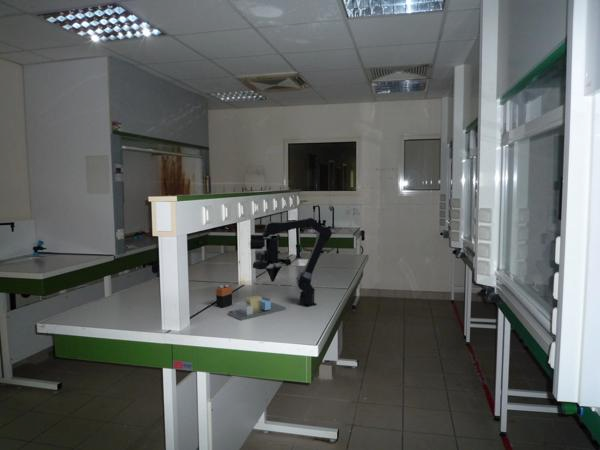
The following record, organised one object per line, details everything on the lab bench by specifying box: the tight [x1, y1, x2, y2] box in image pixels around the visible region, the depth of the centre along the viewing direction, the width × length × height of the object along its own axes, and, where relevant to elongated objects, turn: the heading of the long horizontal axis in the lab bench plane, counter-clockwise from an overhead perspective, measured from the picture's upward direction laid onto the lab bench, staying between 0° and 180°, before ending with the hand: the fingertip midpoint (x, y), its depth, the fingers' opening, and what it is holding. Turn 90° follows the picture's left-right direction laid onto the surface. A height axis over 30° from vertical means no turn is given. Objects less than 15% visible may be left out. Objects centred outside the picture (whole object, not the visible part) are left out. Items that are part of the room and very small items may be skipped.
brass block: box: [245, 295, 263, 312], centre depth 188 cm, size 6×4×6 cm, turn 130°
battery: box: [215, 284, 233, 309], centre depth 200 cm, size 4×7×10 cm, turn 145°
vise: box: [227, 301, 287, 321], centre depth 189 cm, size 24×11×5 cm, turn 130°
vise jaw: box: [262, 296, 272, 310], centre depth 191 cm, size 4×9×4 cm, turn 40°
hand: (272, 281), depth 198 cm, fingers closed
